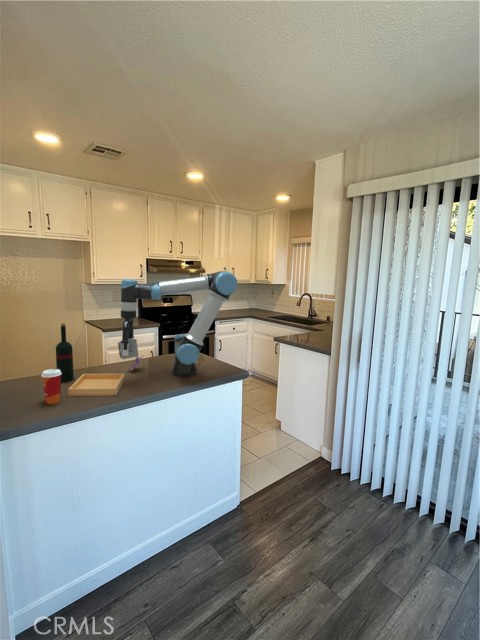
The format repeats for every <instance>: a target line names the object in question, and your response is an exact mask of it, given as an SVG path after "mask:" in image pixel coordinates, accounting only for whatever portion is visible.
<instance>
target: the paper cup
mask: <svg viewBox="0 0 480 640" xmlns="http://www.w3.org/2000/svg"><path fill="white" fill-rule="evenodd" d="M61 374H62V373H61V371H60V370H59V369H57V368H56V369H53V368H51V369H46V370H44V371H42V373H41V375H40V376H41V377H42V385H43V390H44V391H43V394H44V400H45V404H47V405H54V404H58V403H60V402H61V392H62V391H61V387H62V386H61V385H62V383H61Z"/></svg>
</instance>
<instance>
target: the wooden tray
mask: <svg viewBox="0 0 480 640" xmlns="http://www.w3.org/2000/svg"><path fill="white" fill-rule="evenodd" d="M125 375H126V374H125V373H83V374H81V376H79V377H78V378H77V380H75V382H74V383H73V384H72V385H71V386H69V388H68V389H67V393H68V397H107V396H108V397H112V396H113V397H115V396H116V397H117V395H118V393H119V392H120V391H119V390H120V389H121V388H122V386H123V384H124V382H125V379H126V377H125Z"/></svg>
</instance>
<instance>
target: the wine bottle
mask: <svg viewBox="0 0 480 640" xmlns="http://www.w3.org/2000/svg"><path fill="white" fill-rule="evenodd" d="M66 329H67V327H66V323H60V338H61V339H60V340H61V341H60V342H59V343H57V344H56V346H55V364H56V370H57V369H59V370H60V371H61V373H62V374H61V384H63V383H64V384H65V382H66V383H70V381H71V382H73V381H75V380H74V379H75V378H74V377H75V376H74V375H75V374H74V373H75V372H74V357H73V356H74V355H73V345H72V344H71V342H68V341H67V332H66ZM72 380H73V381H72Z"/></svg>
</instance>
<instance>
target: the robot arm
mask: <svg viewBox="0 0 480 640" xmlns="http://www.w3.org/2000/svg"><path fill="white" fill-rule="evenodd" d="M120 284H121V285H120V303H119V305H120V309H121V310H120V318H121V319H124V321H123V323H122V338H121V341H122V342H121V343H123V356H129V343H128V341H129V340H131V339H135V336H134V319H136V318H137V309H138V305H137V303H138V300H140V299H141V300H153V301H157V300H158V301H159V300H161V299H162V296H166V295H175V294H182V293H183V294H184V293H190V292H200V291H207V292H208V293H209V294H208V296H207V298H206V300H205V301H204V303H203V306H202V307H201V309H200V311H199V312H198V315H197V317H196V318H195V320H194V322H193V323H192V326H191V328H190V329H189V331H188V333H180V334H175V336H174V360H173V363H172V366H171V372H170V373H171V374H172V375H174V376H176V377H179V378H180V377H181V378H185V377H188V378H189V377H193V376H196V375H197V374H198V367H197V361H198V360H199V358H200V352H201V350H202V349H203V346H204V342H203V341H204V339H205V337H206V335H207V333H208V331H209V330H210V328H211V326H212V324H213V322H214V320H215V319H216V317H217V315H218V313H219V312H220V309H221V307H222V306H223V304H224V303H225V302H227V301H228V300H229V299H230V297H231V295H232V294H233V293H234V292H235V291H236V290H237V288H238V279H237V277H236V276H235V275H234V274H233V273H231V272H230V271H223V270H220V271H216V272H213V273H206V274H204V275H203V276H196V277H189V278H182V279H181V278H180V279H173V280H171V279H170V280H163V281H155V282H147V283H145V284H144V283H138V280H137V279H132V278H131V279H130V278H129V279H128V278H124V279H122V280H121V283H120ZM124 340H126V341H124Z"/></svg>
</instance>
